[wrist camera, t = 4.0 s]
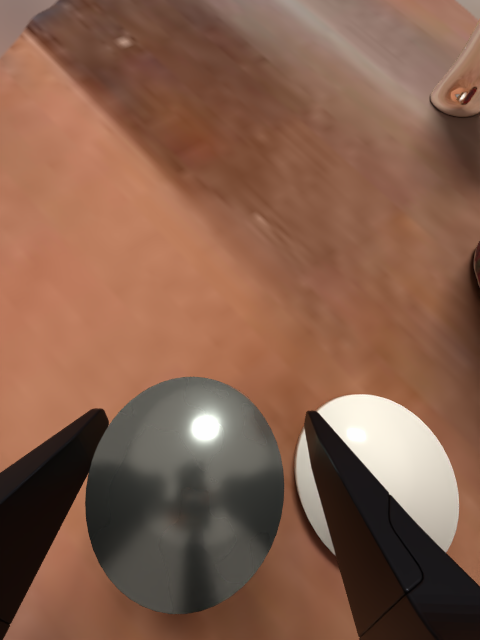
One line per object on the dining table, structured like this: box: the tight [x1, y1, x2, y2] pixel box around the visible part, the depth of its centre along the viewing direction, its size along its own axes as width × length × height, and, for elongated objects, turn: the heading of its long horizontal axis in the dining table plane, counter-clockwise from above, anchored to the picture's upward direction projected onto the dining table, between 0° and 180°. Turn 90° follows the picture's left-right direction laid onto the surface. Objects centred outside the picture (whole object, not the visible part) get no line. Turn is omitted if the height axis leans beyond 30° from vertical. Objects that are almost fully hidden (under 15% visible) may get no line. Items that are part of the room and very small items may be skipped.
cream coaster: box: [294, 394, 459, 555], centre depth 14 cm, size 10×10×1 cm
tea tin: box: [85, 377, 284, 614], centre depth 11 cm, size 6×6×10 cm
